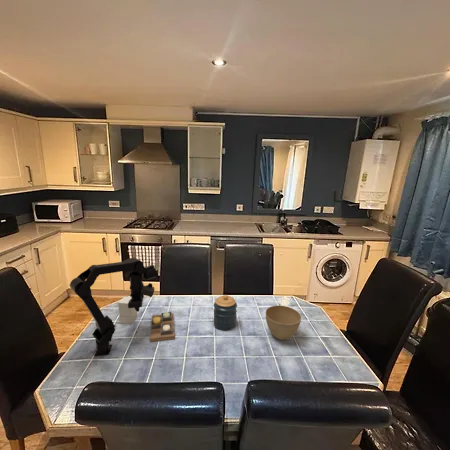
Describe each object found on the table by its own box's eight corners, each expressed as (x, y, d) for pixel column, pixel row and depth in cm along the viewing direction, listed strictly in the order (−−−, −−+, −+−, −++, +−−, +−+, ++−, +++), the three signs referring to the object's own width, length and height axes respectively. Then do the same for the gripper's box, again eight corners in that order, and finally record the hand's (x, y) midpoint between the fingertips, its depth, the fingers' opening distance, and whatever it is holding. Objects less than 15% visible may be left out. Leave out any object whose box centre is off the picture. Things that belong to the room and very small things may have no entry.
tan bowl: (300, 349, 123) (302, 326, 120) (263, 343, 126) (264, 321, 123) (297, 327, 140) (299, 307, 137) (265, 322, 143) (266, 303, 141)
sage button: (169, 319, 141) (169, 315, 140) (163, 320, 140) (162, 316, 139) (169, 315, 144) (169, 312, 144) (163, 316, 143) (162, 312, 143)
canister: (227, 334, 133) (228, 303, 129) (208, 325, 140) (208, 296, 136) (240, 322, 143) (241, 294, 139) (222, 314, 150) (223, 287, 147)
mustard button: (160, 324, 134) (160, 320, 133) (153, 325, 133) (152, 321, 132) (160, 320, 137) (160, 316, 137) (153, 321, 136) (153, 317, 136)
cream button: (170, 332, 129) (170, 328, 129) (162, 333, 128) (162, 329, 128) (170, 328, 133) (170, 324, 132) (162, 329, 132) (162, 325, 131)
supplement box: (137, 316, 146) (136, 297, 144) (132, 324, 139) (130, 303, 137) (125, 315, 147) (124, 296, 144) (119, 323, 140) (117, 302, 137)
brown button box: (174, 339, 128) (174, 332, 127) (150, 342, 125) (149, 335, 124) (173, 316, 148) (173, 310, 147) (152, 318, 145) (152, 312, 144)
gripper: (152, 290, 118) (153, 319, 121) (153, 274, 136) (155, 300, 139) (126, 292, 116) (128, 322, 119) (132, 275, 134) (133, 302, 137)
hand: (137, 311), depth 129 cm, fingers closed
